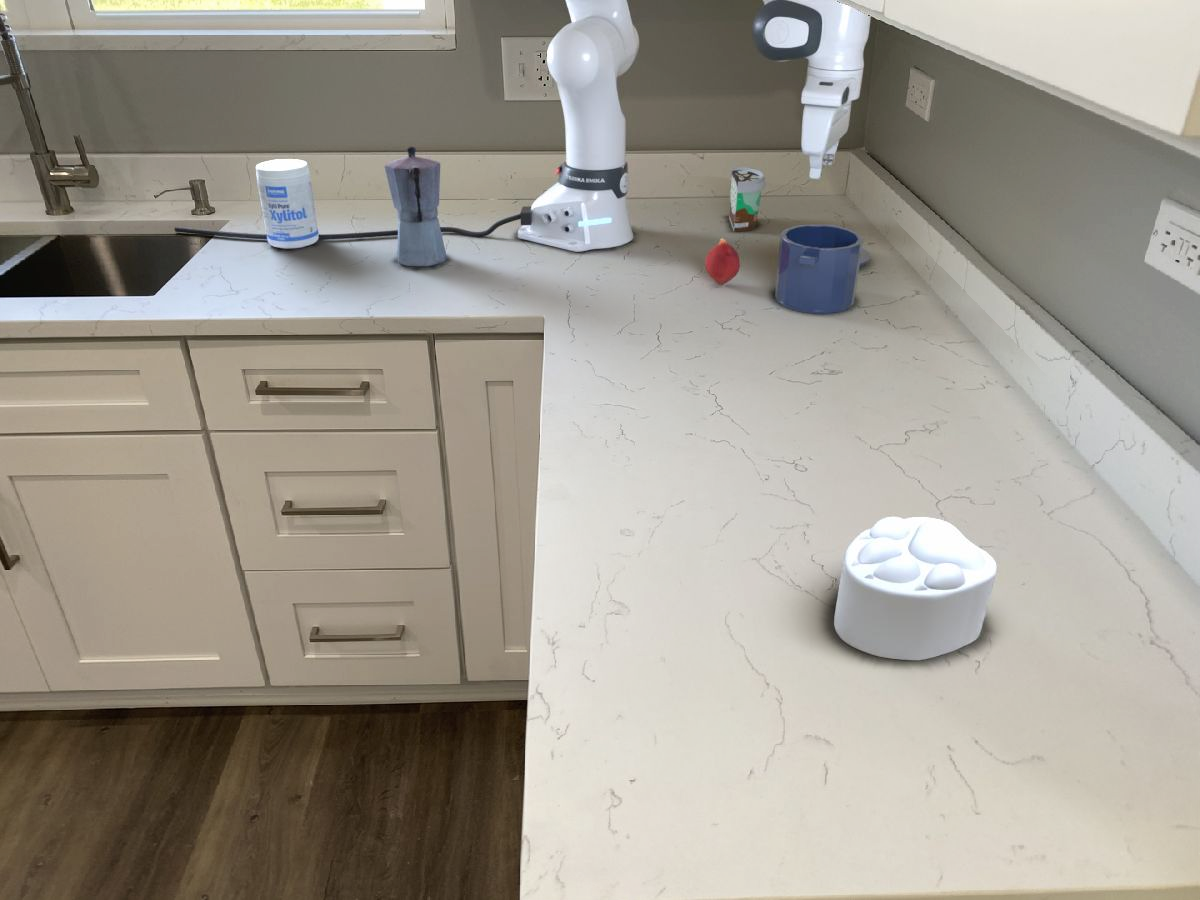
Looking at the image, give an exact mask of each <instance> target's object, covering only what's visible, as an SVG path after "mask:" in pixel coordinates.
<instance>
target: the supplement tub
mask: <svg viewBox="0 0 1200 900" xmlns="http://www.w3.org/2000/svg"><path fill="white" fill-rule="evenodd" d="M255 173H256V174H255V176H256V183H257V189H258V194H259V200H260V206H261V212H262V217H263V222H264V229H265V234H267V239H266V240H267V242H268V244H270V246H272V247H275V248H280V249H290V250H291V249H299V248H304V247H307V246H311V245H313V244H315V243H317V242H318V241H319V240H318V238H319V235H320V232H319V226H318V219H317V212H316V205H315V201H314V200H315V199H314V192H313V185H312V180H311V173H310V169H309V165H308V162H307V161H305V160H302V159H296V158H283V159H282V158H281V159H272V160H267V161H262V162H260V163H258V164H256V166H255Z"/></svg>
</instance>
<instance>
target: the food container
mask: <svg viewBox="0 0 1200 900" xmlns="http://www.w3.org/2000/svg"><path fill="white" fill-rule="evenodd" d="M764 175H765V174H764V172H762V171H761V170H758V169H755V168H750V167H744V166H731V170H730V188H729V189H730V191H729V206H728V219H729V222H730V225H731V228H732V230H733V232H745V231H750V230H753V229H755V228H756V226H757V222H758V217H759V211H760V205H761V204H760V203H761V197H762V190H764V189H765V188H766V185H767V184H766V177H765V176H764Z"/></svg>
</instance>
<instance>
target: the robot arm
mask: <svg viewBox="0 0 1200 900" xmlns="http://www.w3.org/2000/svg"><path fill="white" fill-rule="evenodd" d="M564 1H565V3H566V7H567V10H568V14H569V17H570V21H571V22H570V23H568V24H566V25H564V26H563V27H562V28H561V29H559V31H558V32H557V33H556V34H555V36H554V37H553V38H552V39H551V41H550V43H549V45H548V47H547V52H546V65H547V69H548V72H549V73H550V76H551V77H552V79H553V80H554V81H555V83H556V86H557V89H558V95H559V99H560V102H561V107H562V112H563V117H564V118H563V119H564V129H565V130H564V131H565V160H564V162H563V163H561V164H559V165H558V167H556V168H554V169H553V171H554V173H553V175H554V176H557V175H558V180H557V182H556V183H555V184H553V185H552V186H551V187H550V188H548V189H547V190H545V191H544V192H543V193H542V194H541V195H540V196H538V197H537V198H536V199H535V200H534V202H533V203H532V204H531V206H526V205H525V206H524V205H523V206H522V207H521V211H520V213H517V214H515V215H512V216H511V215H510V216H508V217H505V218H502V219H500V220H498V221H496V222H495V223H494V224H492V225H491V226H490V227H489V228H487V229H485V230H482V231H472V230H467V229H463V228H459V227H452V226H440V229H441V233H455V234H459V235H463V236H468V237H473V238H483V237H487V236H489V235H491V234H492V233H493V232H495V230H497V229H498V228H500V227H501V226H503V225H505V224H508V223H512V222H515V221H518V220H520V228H519V229H518V231H517V237H518V239H520V240H524V241H529V242H533V243H538V244H540V245H541V244H542V245H545V246H550V247H554V248H557V249H562V250H566V251H570V252H576V253H577V252H579V253H580V252H585V251H586V252H587V251H590V250H601V249H610V248H615V247H620V246H623V245H625V244H628V243H629V242H631V241H632V240H633V239H634V233H633V230H632V226H631V221H630V216H629V208H628V199H627V194H628V187H629V165H628V162H627V161H626V157H627V156H626V155H627V153H626V152H627V151H626V149H627V148H626V147H627V146H626V145H627V142H626V141H627V121H626V117H625V114H624V113H623V110H622V108H621V103H620V98H619V91H618V82H617V81H618V80H617V79H618V77H620V76H622V75H623V74H625V73H626V72H628V70H629V69H630V68H631V66H632V64H634V62H635V60H636V58H637V56H638V53H639V49H640V36H639V33H638V30H637V29H636V26H635V25H634V24H633V21H632V17H631V12H630V9H629V3H628V0H564ZM762 2H763V5H762V6H761V8H760V9H758V11H757V12H756V15H755V16H754V19H753V22H752V25H751V27H752V28H751V38H752V41H753V45H754V47H755V48H756V50H757V52H758V53H759V54H760V55H761V56H762V57H764V58H766V59H768V60H770V61H773V62H778V63H779V62H781V63H782V62H783V63H784V62H789V61H793V60H798V59H807V62H808V63H807V70H806V77H805V84H804V86H803V89H802V91H801V95H800V103H801V104H802V105H803V106H804V107H803V110H802V118H801V119H802V121H801V136H800V137H801V140H800V141H801V142H800V146H801V151H802V154H803V155H806V156H809V157H808V158H809V160H808V161H809V175H808V176H809V178H810V179H814V180H819V179H820V178H821V177H822V175H823V169H824V166H827V167H831V166H832V165H834V163H835V160H836V159H835V158H836V154H837V150H838V148H839V147H838V146H839V143H840V140H841V139H842V137H843V136H844V135H846V134H847V133H848V130H849V126H850V119H851V111H852V102H853V101H855V100H858V99H859V98H860V94H861V88H862V83H863V76H864V75H863V74H864V68H865V61H864V51H865V47H866V44H867V42H868V39H869V34H870V26H871V19H872V17H871V16H872V15H871V16H868V15H866V14H864V13H862V12H860V11H858V10H856V9H854V8H852V7H850V6H848V5H845V4H842V3H839V2H837V0H762ZM174 231H175V232H176V233H186V234H196V235H204V236H205V235H206V236H214V237H215V236H216V237H224V238H225V237H226V238H237V239H251V240H252V239H253V240H267V234H266V233H249V232H248V233H247V232H237V231H235V232H234V231H226V230H225V231H224V230H214V229H213V230H212V229H203V228H194V227H183V226H182V227H181V226H175V227H174ZM391 236H392V237H393V236H398V229H395V230H384V231H383V230H380V231H363V232H350V233H348V232H347V233H346V232H345V233H328V234H327V233H326V234H325V233H324V234H319V238H318V240H317V241H324V240H341V239H342V240H345V239H346V240H347V239H363V238H365V239H366V238H379V237H391Z"/></svg>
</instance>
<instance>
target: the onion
mask: <svg viewBox="0 0 1200 900" xmlns="http://www.w3.org/2000/svg"><path fill="white" fill-rule="evenodd" d="M706 254H707V255H706V257H705V261H704V267H705V269H704V270H705V271H706V273H707V274H708V276H709V277H710V278H711V279H712V280H713V281H714V282H715V283H716V284H717V285H720V286H722V285H725V284H726V283H729V282H730V281H731V280H733V279H734V278H735V277H736V276H737V275H738V273H739V271H740V267H741V264H740V263H741V261H740V256H739V253H738V252H737V250H736V249H735V248H734V247H733V246H732V245H731V244H729V243H728V242H727V241H726V239H725V238H723V237H722V238H720V239H719V243H718V244H716V245H715V246H713V247H712V248H711V249H710V250H709V251H708V252H707V253H706Z"/></svg>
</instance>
